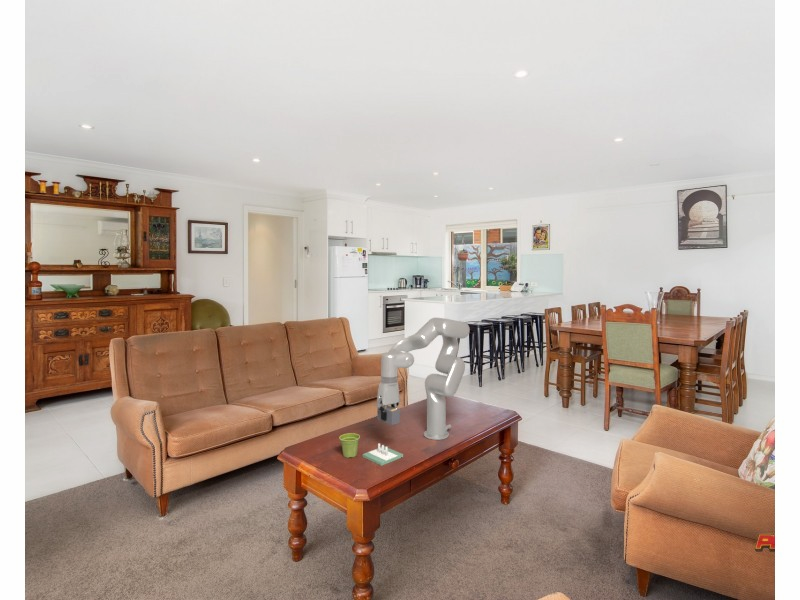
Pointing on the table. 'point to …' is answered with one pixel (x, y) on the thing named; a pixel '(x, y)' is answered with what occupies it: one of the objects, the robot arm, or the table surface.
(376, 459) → the header board
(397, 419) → the block
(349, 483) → the table surface
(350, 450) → the plant pot
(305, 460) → the table surface
